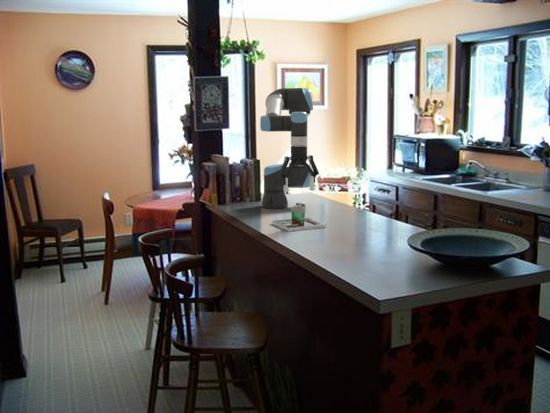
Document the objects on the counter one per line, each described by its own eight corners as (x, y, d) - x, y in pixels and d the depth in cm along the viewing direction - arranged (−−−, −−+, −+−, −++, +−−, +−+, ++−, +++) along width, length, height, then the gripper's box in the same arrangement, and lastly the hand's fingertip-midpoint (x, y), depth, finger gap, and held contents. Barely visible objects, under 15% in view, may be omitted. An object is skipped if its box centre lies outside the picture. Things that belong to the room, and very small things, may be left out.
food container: (304, 228, 278) (304, 207, 277) (291, 228, 280) (291, 207, 278) (308, 223, 290) (308, 203, 289) (296, 222, 292) (296, 202, 290)
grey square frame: (271, 224, 289) (271, 220, 289) (308, 220, 297) (308, 217, 297) (288, 231, 273) (288, 228, 273) (326, 227, 281) (326, 224, 281)
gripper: (277, 147, 270) (278, 193, 274) (326, 145, 280) (325, 190, 284) (271, 146, 277) (271, 191, 281) (318, 144, 287) (318, 188, 291)
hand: (298, 190), depth 282 cm, fingers open, 13 cm apart
